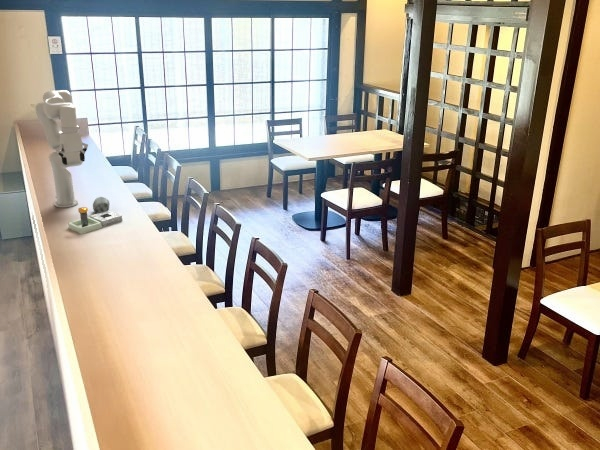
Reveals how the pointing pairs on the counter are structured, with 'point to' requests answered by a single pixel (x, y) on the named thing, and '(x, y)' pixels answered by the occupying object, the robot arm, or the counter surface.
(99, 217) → the grey slotted block
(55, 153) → the robot arm
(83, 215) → the pin
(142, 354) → the counter surface
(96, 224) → the tray
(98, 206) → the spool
